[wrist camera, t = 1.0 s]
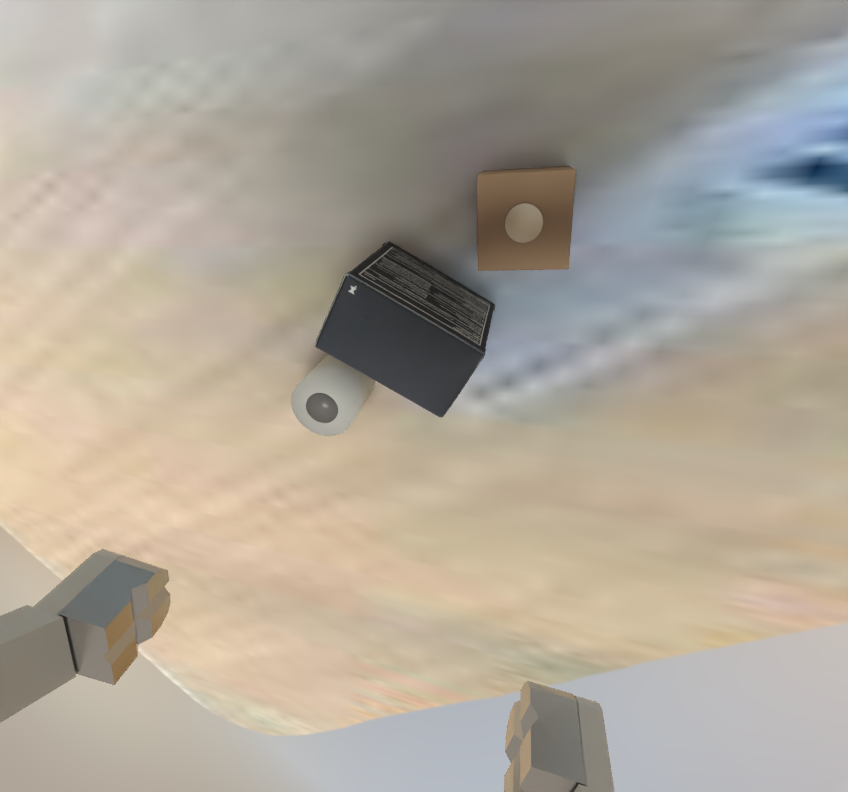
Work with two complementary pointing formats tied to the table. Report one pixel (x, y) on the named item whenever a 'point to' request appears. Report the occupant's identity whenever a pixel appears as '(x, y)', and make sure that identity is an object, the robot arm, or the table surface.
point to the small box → (408, 328)
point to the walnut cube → (525, 218)
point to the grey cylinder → (330, 397)
